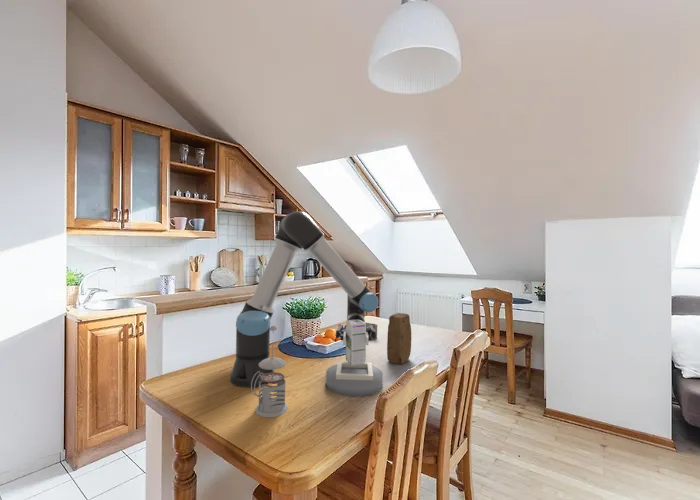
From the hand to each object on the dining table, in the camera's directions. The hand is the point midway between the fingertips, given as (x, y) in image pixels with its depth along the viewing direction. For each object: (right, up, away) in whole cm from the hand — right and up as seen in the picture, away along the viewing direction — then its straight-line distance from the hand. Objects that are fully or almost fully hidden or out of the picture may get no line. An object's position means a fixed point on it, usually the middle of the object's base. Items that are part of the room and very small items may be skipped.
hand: (355, 340), depth 117 cm
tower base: (-1, -17, +5) cm, 17 cm away
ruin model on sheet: (+6, -16, +65) cm, 67 cm away
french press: (-26, -17, -14) cm, 34 cm away
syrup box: (0, -9, +5) cm, 10 cm away
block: (+19, -17, +30) cm, 39 cm away
